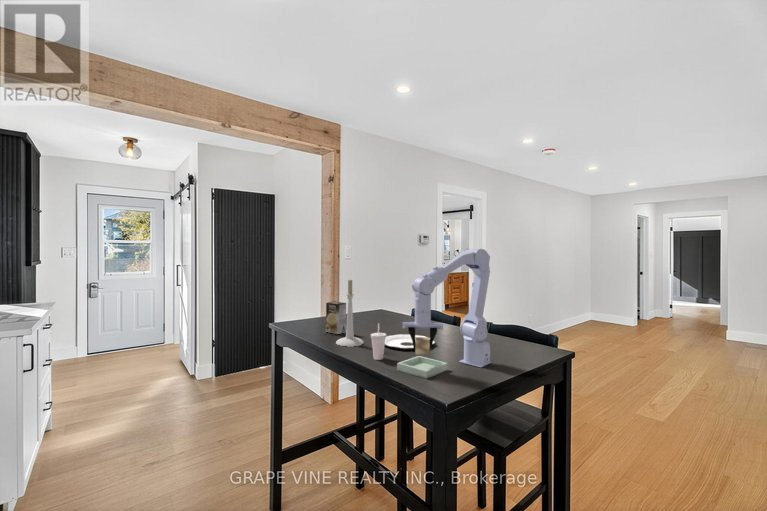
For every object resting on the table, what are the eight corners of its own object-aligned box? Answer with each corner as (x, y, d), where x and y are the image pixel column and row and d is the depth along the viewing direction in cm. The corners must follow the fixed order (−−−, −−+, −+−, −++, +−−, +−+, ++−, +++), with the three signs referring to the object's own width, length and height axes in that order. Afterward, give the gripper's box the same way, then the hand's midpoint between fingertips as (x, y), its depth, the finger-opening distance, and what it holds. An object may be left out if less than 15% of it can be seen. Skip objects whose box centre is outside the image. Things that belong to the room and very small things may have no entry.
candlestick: (331, 342, 167) (331, 278, 167) (355, 338, 174) (355, 277, 174) (343, 348, 156) (344, 280, 156) (368, 344, 163) (369, 279, 163)
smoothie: (386, 356, 145) (386, 322, 145) (386, 360, 139) (386, 325, 138) (370, 356, 145) (370, 322, 145) (370, 360, 138) (370, 325, 138)
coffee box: (325, 333, 186) (325, 302, 186) (333, 330, 191) (333, 301, 191) (338, 335, 181) (338, 304, 181) (346, 333, 186) (346, 302, 186)
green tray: (447, 369, 128) (447, 362, 128) (426, 378, 119) (426, 371, 119) (418, 362, 137) (418, 355, 137) (396, 370, 128) (397, 363, 128)
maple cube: (429, 351, 130) (429, 337, 130) (429, 354, 125) (429, 340, 125) (415, 350, 131) (415, 337, 131) (415, 354, 126) (415, 340, 126)
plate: (441, 342, 170) (441, 338, 170) (422, 355, 148) (422, 350, 148) (394, 336, 182) (395, 332, 182) (370, 347, 160) (370, 343, 160)
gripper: (442, 309, 131) (442, 346, 131) (403, 308, 133) (402, 344, 133) (443, 312, 124) (443, 351, 124) (402, 311, 126) (402, 350, 126)
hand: (422, 348), depth 128 cm, fingers closed on maple cube, 5 cm apart
